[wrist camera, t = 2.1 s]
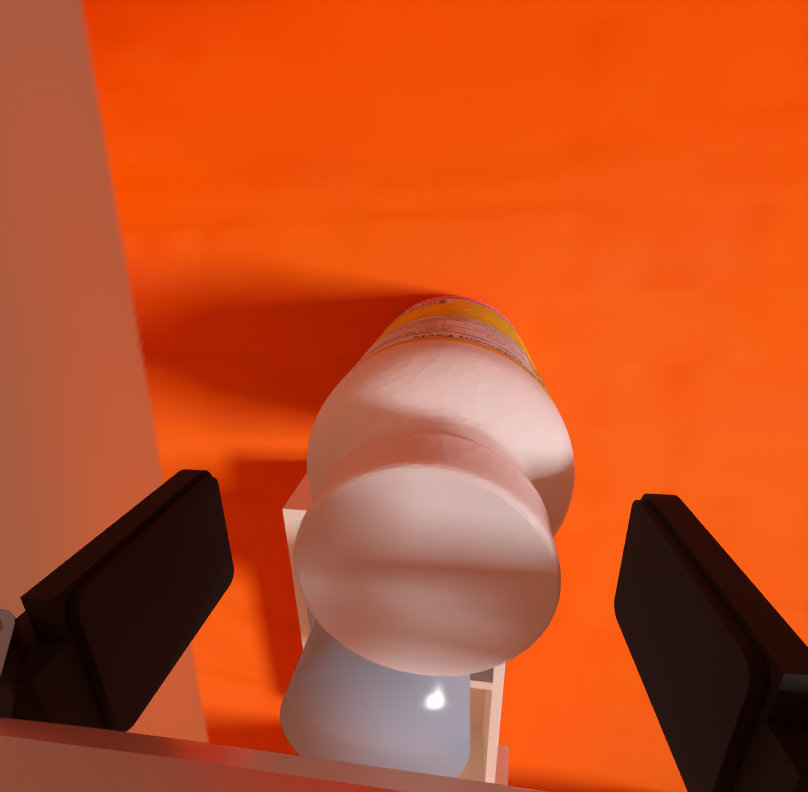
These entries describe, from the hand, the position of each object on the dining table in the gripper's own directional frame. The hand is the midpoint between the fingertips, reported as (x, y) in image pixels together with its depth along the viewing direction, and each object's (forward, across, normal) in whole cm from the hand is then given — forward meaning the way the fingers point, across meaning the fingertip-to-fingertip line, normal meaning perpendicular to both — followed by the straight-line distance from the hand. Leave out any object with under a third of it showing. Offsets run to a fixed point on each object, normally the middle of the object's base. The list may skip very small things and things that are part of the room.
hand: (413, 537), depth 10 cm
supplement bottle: (+11, 0, -1) cm, 11 cm away
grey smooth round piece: (+10, +2, +9) cm, 14 cm away
